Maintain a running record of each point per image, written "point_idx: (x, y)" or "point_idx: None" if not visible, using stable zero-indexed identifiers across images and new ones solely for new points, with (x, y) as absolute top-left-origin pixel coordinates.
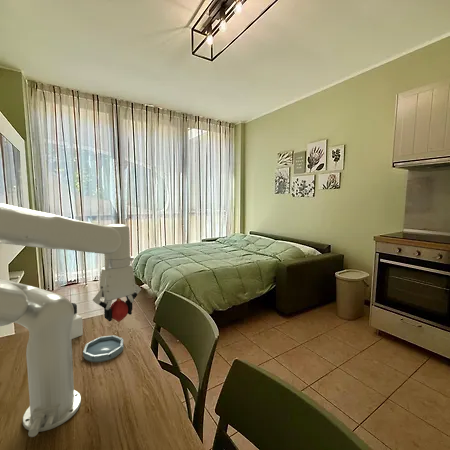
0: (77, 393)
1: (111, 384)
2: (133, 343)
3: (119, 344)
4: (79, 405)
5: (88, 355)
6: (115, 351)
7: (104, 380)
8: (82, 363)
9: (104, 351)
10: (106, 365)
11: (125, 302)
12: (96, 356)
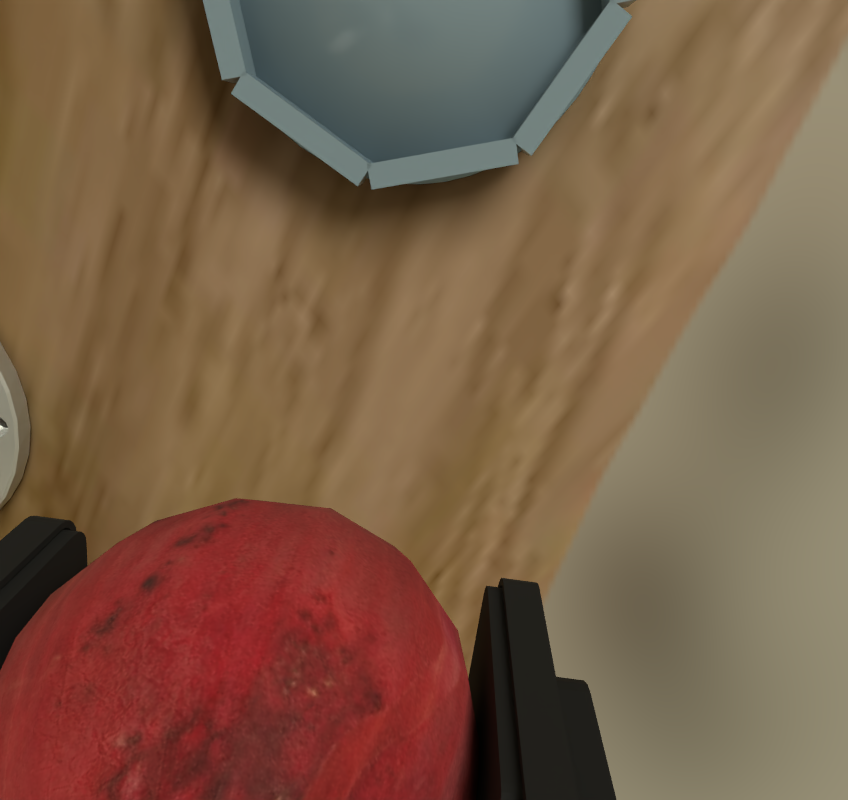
0: (6, 418)
1: (236, 471)
2: (692, 106)
3: (562, 38)
4: (3, 504)
5: (207, 7)
6: (433, 178)
7: (219, 396)
8: (169, 10)
9: (381, 35)
10: (312, 235)
11: (497, 792)
12: (255, 109)
